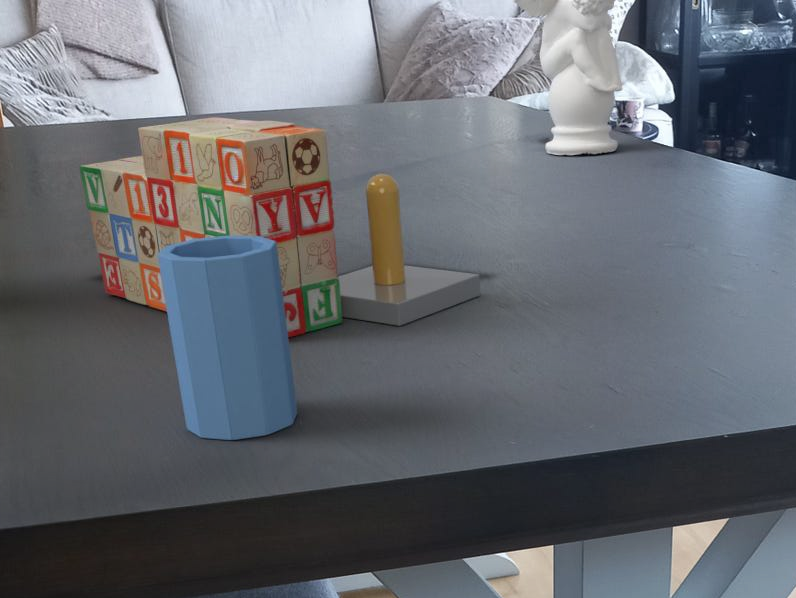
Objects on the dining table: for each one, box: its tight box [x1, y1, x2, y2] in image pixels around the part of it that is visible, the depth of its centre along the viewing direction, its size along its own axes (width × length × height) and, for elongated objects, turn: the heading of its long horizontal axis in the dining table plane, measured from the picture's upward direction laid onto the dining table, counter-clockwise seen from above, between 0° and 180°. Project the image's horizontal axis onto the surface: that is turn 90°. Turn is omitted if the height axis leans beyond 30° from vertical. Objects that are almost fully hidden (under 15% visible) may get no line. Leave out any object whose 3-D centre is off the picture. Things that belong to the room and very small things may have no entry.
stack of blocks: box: [79, 116, 343, 339], centre depth 83 cm, size 21×6×12 cm, turn 44°
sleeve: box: [157, 235, 298, 441], centre depth 62 cm, size 6×6×9 cm
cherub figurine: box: [513, 0, 623, 156], centre depth 140 cm, size 12×12×22 cm
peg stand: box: [337, 173, 481, 327], centre depth 83 cm, size 9×9×9 cm
